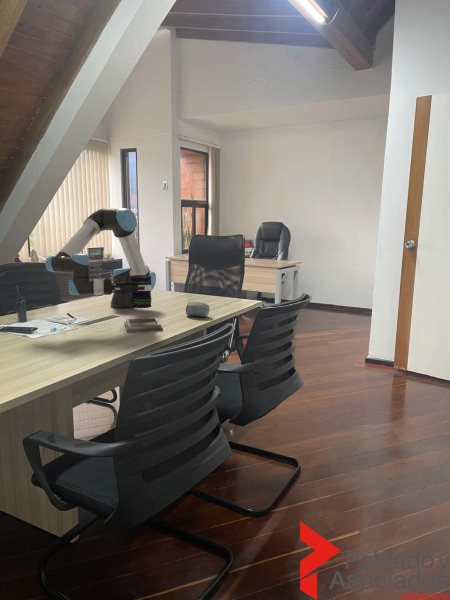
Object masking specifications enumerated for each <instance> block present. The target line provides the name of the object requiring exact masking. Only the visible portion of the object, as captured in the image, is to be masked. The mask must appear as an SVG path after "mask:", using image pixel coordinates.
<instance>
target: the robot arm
mask: <svg viewBox="0 0 450 600" xmlns="http://www.w3.org/2000/svg"><path fill="white" fill-rule="evenodd" d="M137 220H138V219H137V217H136V214H135V213H134V212H133V210H131V209H130V208H123V207H119V208H115V207H114V208H112V207H111V208H110V207H104V208H100V209H98V210H95V211H93V213H91V214H90V215H89V216H88V217H86V218H85V220H84V221H83V224H82V226H81V227H80V228H79V229H78V231H76V233H75V234H74V235H73V236H72V237H71V238H70V239H69V240H68V241H67V243H66V244H65V245H64V246H63V247H62V248H61V249H60V250H59V251H58V253H57V254H56V255H52V256H48V257H46V259H45V263H44V264H45V269H46V270H47V271H48V272H52V273H55V274H56V273H62V274H72V279H71V278H70V279H69V280H68V293H69V294H70V296H94V295H96V297H98V296H100V295H105V296H107V295H108V296H109V295H110V296H111V295H112V296H111V300H110V307H111V308H115V309H129V308H132V307H131V305H132V303H131V299H132V298H131V295H132V292H136V293H138V291H151V292H152V291H153V290H154V288H155V286H156V282H157V274H156V273H155V272H154V271H150V267H149V266H148V265H147V264H145V261H144V258H143V255H142V252H141V250H140V247H139V244H138V241H137V238H136V236H135V234H134V233H135V231H136V228H137ZM103 231H104V232H105V231H112V233H113V236H114V237H115V238H117V239H118V241H119V243H120V246H121V248H122V250H123V253H124V256H125V259H126V261H127V264H128V267H124V268H115V269H113V272H112V279H111V278H105V279H103V278H92V279H91V275H90V274H91V273H90V257H89V254H87V253H82V251H83V250H84V249H85V247H86V246H87V245H88V244H89V243H90V241H91V240H92V239H93V238H94V237H95V236H97V235H100V233H101V232H103ZM134 275H148V276H151V285H138V286H137V285H136V286H134V285H131V276H134Z"/></svg>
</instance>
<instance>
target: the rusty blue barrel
mask: <svg viewBox="0 0 450 600" xmlns="http://www.w3.org/2000/svg"><path fill="white" fill-rule="evenodd" d="M131 285H134V286H136V285H137V286H138V285H151V276H148V275H134V276H131ZM151 294H152V291H138V293H136V292H132V295H131V298H132V299H131V303H132V305H131V308H133V309H148V308H151V307H152V295H151Z"/></svg>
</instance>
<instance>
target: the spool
mask: <svg viewBox="0 0 450 600" xmlns="http://www.w3.org/2000/svg"><path fill="white" fill-rule="evenodd" d="M210 309H211V307H210V305H209V304H207V303H205V302H200V301H199V302H198V301H189V302H187V304H186V306H185V314H186V316H188V317H198V318H207V317H208V315H209V314H210Z"/></svg>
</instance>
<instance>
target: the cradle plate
mask: <svg viewBox="0 0 450 600" xmlns="http://www.w3.org/2000/svg"><path fill="white" fill-rule="evenodd" d="M124 327H125V329H126V332H127V333H141V332H159V331H161V332H162V331H164V328H163V326H162V324H161V323H160V321H159V319H158V318H157V317H143V318H140V317H139V318H126V319H125V321H124Z"/></svg>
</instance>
